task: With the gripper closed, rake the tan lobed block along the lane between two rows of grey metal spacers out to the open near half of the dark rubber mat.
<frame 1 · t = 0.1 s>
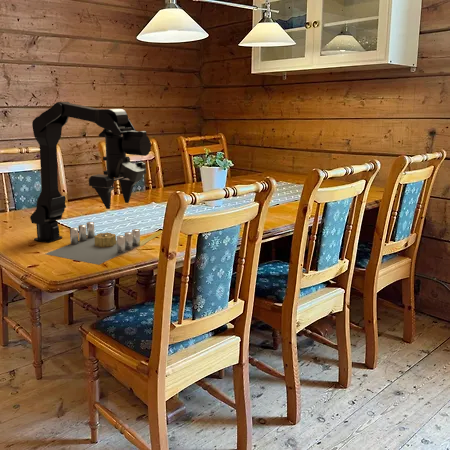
hand: (117, 205, 147), 15 cm above the table, tool pointing down, fingers open, 9 cm apart
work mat: (94, 249, 152), on the table
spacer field: (105, 245, 157), resting on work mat
tan lobed block: (105, 244, 157), resting on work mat
bottle opener: (149, 238, 165), on the table, touching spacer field, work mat
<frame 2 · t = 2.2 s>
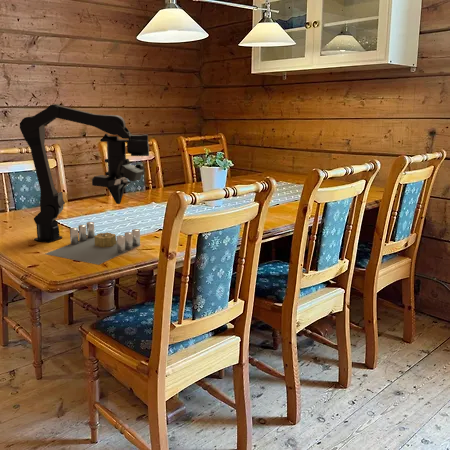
hand: (118, 203, 160), 12 cm above the table, tool pointing down, fingers closed
bottle opener: (149, 239, 165), on the table
everything else where it was.
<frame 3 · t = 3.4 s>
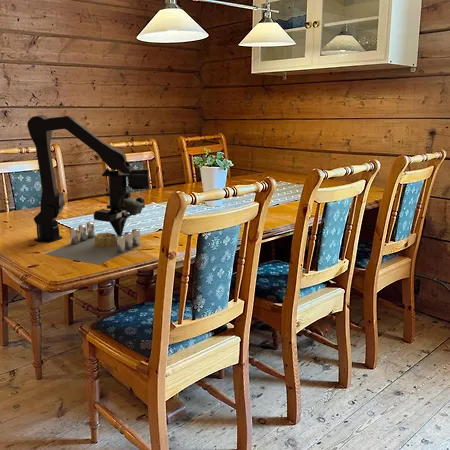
hand: (119, 235, 163), 1 cm above the table, tool pointing down, fingers closed
nothing on the table moved.
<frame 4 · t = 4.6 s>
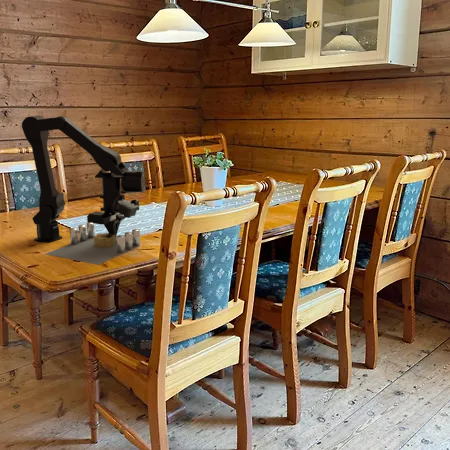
hand: (113, 238, 160), 1 cm above the table, tool pointing down, fingers closed
tan lobed block: (104, 244, 157), resting on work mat, touching gripper
everything else where it was.
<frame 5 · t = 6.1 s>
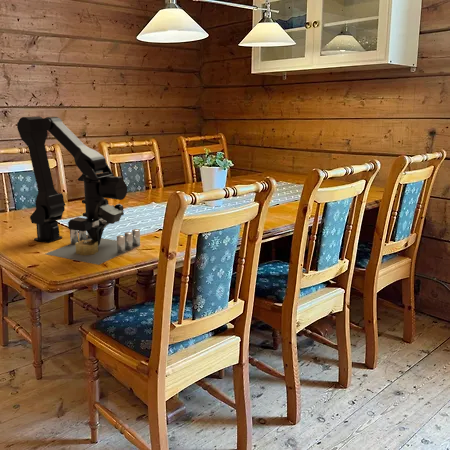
hand: (97, 245, 153), 1 cm above the table, tool pointing down, fingers closed
tan lobed block: (87, 252, 149), resting on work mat, touching gripper
everything else where it was.
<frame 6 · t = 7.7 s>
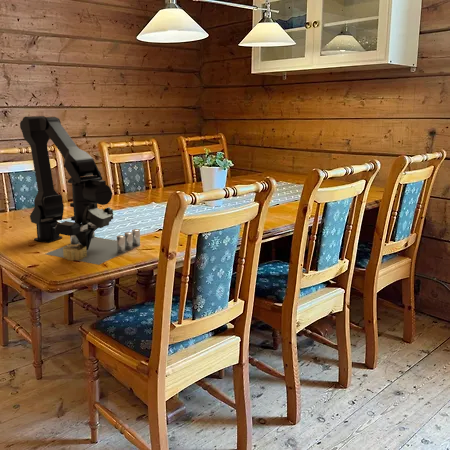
hand: (86, 249, 148), 1 cm above the table, tool pointing down, fingers closed
tan lobed block: (75, 257, 145), resting on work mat, touching gripper
everything else where it was.
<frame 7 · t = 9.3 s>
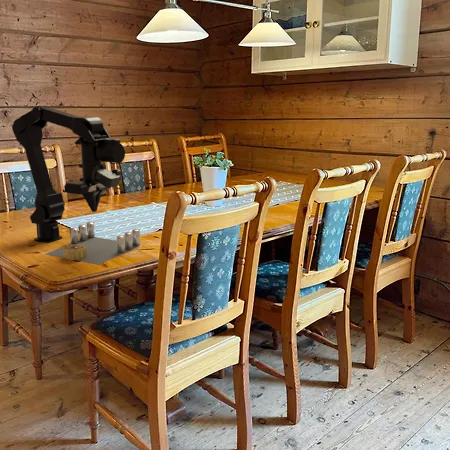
hand: (94, 211, 150), 12 cm above the table, tool pointing down, fingers closed
tan lobed block: (75, 257, 145), resting on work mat
everything else where it was.
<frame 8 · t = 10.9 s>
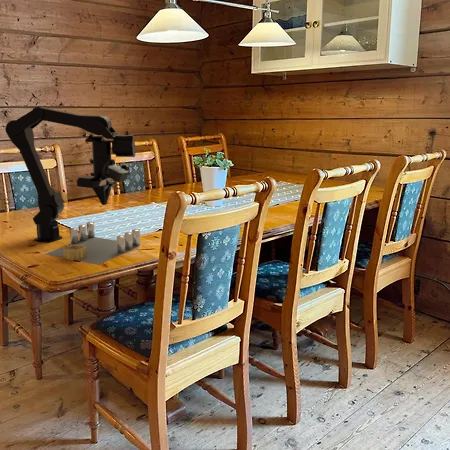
hand: (104, 204, 158), 12 cm above the table, tool pointing down, fingers closed
nothing on the table moved.
at the end: tan lobed block inside the target area (0.5 cm from its centre), resting on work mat; tan lobed block moved 14.0 cm from its start; tan lobed block tilted 0° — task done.
